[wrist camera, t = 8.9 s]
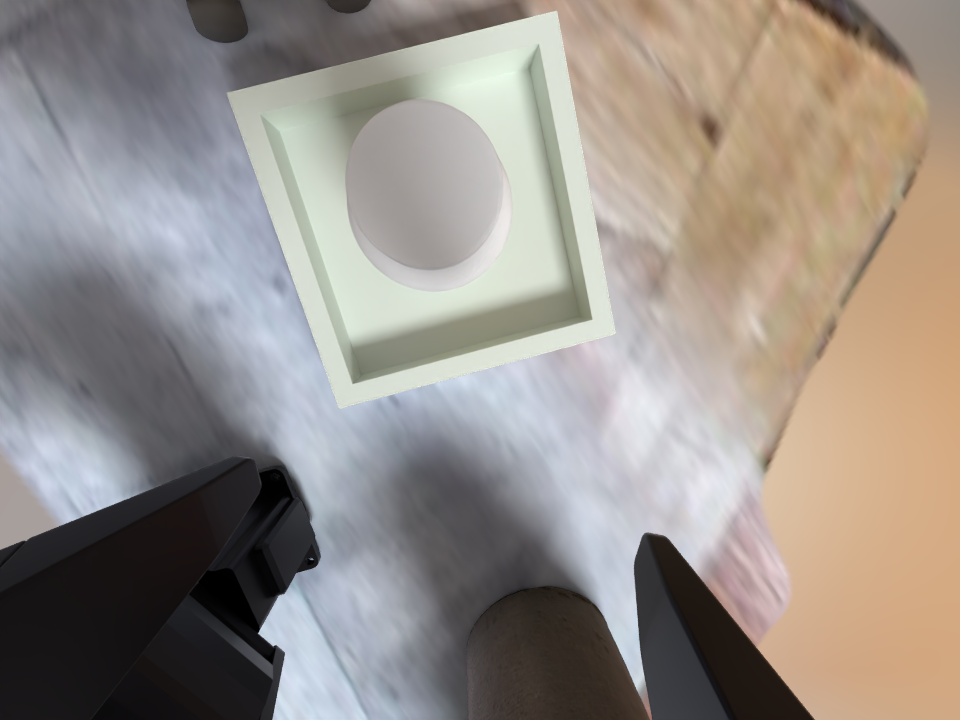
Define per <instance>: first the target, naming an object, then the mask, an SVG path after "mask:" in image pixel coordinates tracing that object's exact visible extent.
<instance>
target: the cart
mask: <svg viewBox="0 0 960 720" xmlns="http://www.w3.org/2000/svg"><path fill="white" fill-rule="evenodd" d="M326 1H327V3H328V4H329V6H330V7H331V8H333V9H334V10H336V11H339V12H342V13H353V12H357V11H360V10H362V9H363V8H365V7H366V6H367V5H368V4H369V3H370V1H371V0H326ZM186 3H187V6H188V9H189V12H190V14H191V17H192V20H193V23H194V25H195V28H196V30H197V31H198V32H199V33H200V34H201V35H202V36H204V37H206V38H208V39H210V40H213V41H216V42H223V43H229V42H235V41H238V40H241V39H242V38H244V37H245V36H246V34H247V32H248V27H247V24H246V21H245V18H244V15H243V12H242V9H241V6H240V3H239V1H238V0H186Z"/></svg>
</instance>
